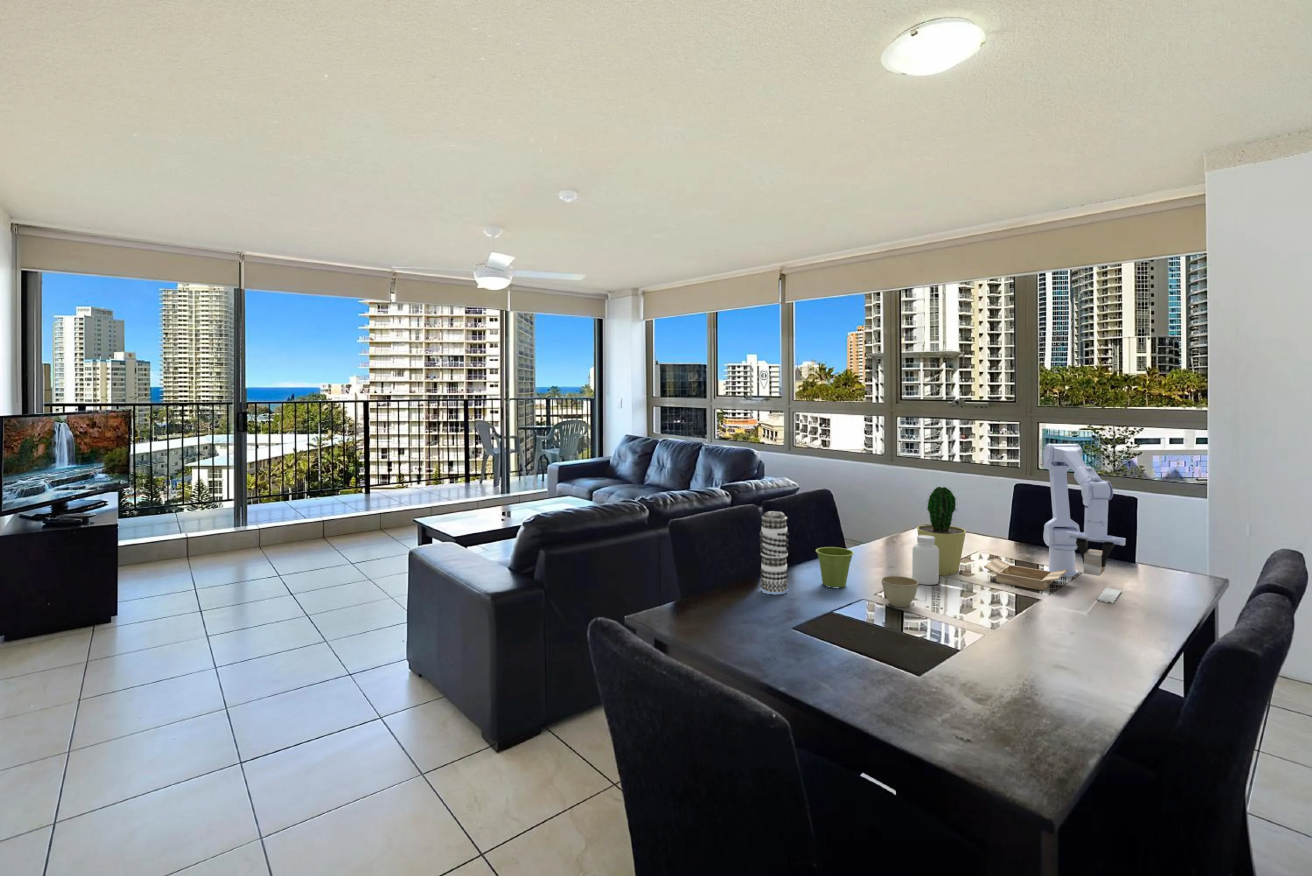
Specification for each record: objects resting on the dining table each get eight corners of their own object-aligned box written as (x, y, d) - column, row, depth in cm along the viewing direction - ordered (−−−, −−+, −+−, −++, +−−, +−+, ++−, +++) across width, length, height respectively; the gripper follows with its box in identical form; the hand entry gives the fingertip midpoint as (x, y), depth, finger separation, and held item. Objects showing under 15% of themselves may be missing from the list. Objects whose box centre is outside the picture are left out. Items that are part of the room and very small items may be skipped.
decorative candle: (787, 586, 200) (787, 509, 198) (790, 596, 191) (790, 515, 189) (758, 586, 201) (758, 509, 199) (760, 595, 191) (760, 515, 190)
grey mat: (1075, 584, 199) (1075, 582, 199) (1121, 592, 190) (1121, 590, 190) (1064, 594, 189) (1064, 593, 189) (1113, 603, 180) (1113, 601, 180)
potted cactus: (918, 575, 210) (920, 487, 208) (913, 563, 225) (915, 481, 223) (968, 579, 206) (970, 489, 204) (960, 566, 220) (962, 482, 218)
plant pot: (858, 591, 195) (858, 555, 194) (820, 591, 195) (820, 555, 194) (847, 579, 206) (847, 546, 206) (811, 580, 207) (811, 546, 206)
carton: (995, 572, 213) (996, 558, 212) (1067, 585, 198) (1068, 569, 198) (983, 581, 203) (983, 566, 203) (1057, 594, 189) (1058, 578, 188)
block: (1088, 568, 193) (1089, 549, 193) (1104, 570, 190) (1105, 551, 190) (1083, 573, 188) (1084, 553, 187) (1099, 576, 185) (1100, 556, 184)
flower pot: (921, 611, 176) (921, 586, 175) (884, 609, 178) (884, 584, 177) (914, 599, 186) (914, 576, 185) (879, 598, 188) (879, 574, 187)
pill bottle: (933, 578, 207) (934, 534, 206) (942, 586, 199) (943, 539, 198) (908, 578, 208) (909, 533, 206) (916, 585, 200) (917, 539, 199)
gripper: (1064, 519, 190) (1063, 563, 191) (1123, 526, 180) (1121, 572, 181) (1069, 516, 195) (1068, 558, 196) (1127, 522, 185) (1125, 567, 186)
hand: (1094, 565), depth 189 cm, fingers closed on block, 4 cm apart
